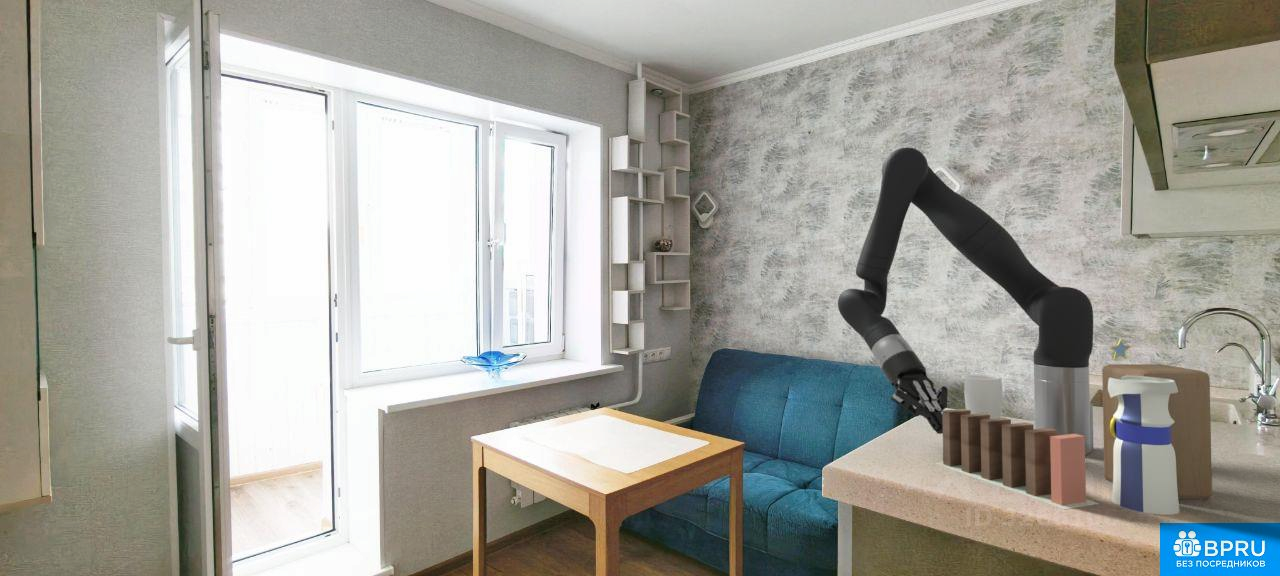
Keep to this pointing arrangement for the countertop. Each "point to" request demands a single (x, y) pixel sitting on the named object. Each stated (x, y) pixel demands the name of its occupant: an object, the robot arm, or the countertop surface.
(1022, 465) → the domino
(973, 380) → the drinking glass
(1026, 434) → the domino
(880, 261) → the robot arm
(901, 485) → the countertop surface
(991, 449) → the domino
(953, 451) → the domino
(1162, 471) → the white and blue jug
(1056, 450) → the domino
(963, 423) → the domino
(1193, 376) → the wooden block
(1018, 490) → the mat
